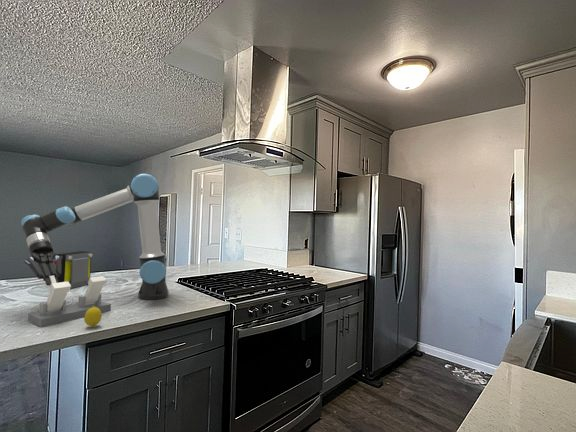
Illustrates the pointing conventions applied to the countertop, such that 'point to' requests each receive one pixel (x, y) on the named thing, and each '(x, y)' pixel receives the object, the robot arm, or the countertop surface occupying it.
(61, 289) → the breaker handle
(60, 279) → the electrical component
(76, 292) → the countertop surface
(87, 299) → the lever
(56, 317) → the block
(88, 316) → the lemon
